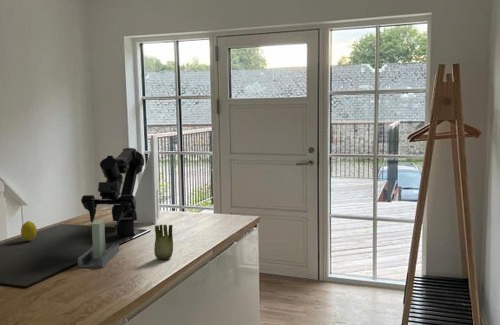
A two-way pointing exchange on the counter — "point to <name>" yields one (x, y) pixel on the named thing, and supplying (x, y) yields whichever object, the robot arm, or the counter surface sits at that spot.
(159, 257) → the fennel bulb
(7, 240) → the counter surface
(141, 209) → the white bracket plate
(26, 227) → the lemon
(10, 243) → the counter surface
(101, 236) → the door panel
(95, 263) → the track
